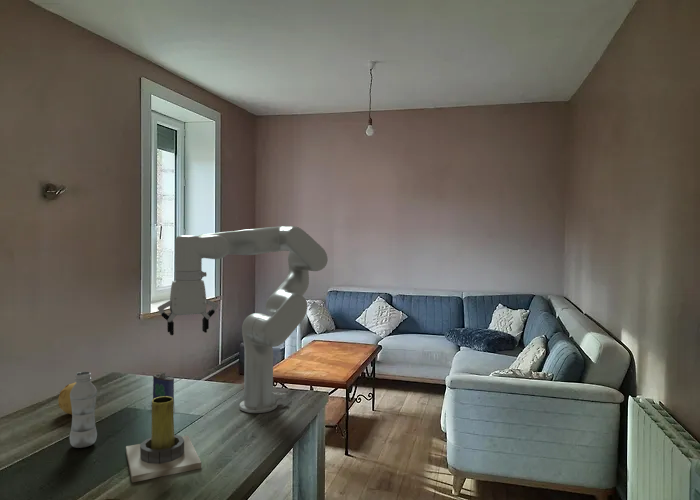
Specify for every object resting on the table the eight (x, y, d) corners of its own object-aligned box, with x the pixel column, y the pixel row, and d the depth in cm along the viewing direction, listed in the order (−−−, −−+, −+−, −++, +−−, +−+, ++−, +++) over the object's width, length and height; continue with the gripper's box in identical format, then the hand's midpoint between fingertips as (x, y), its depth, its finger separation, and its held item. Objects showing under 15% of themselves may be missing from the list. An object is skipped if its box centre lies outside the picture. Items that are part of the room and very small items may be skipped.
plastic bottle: (76, 440, 140) (75, 370, 139) (101, 440, 140) (100, 370, 139) (64, 451, 133) (64, 377, 132) (91, 450, 134) (90, 376, 133)
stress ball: (97, 413, 163) (89, 388, 168) (96, 397, 156) (88, 371, 162) (62, 425, 157) (55, 398, 162) (60, 408, 151) (53, 382, 156)
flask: (175, 403, 170) (175, 372, 169) (168, 406, 167) (168, 374, 167) (157, 399, 174) (156, 368, 174) (150, 401, 172) (149, 370, 171)
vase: (166, 460, 126) (166, 404, 125) (145, 457, 127) (144, 402, 126) (179, 449, 132) (179, 396, 131) (158, 447, 133) (158, 394, 132)
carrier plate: (188, 440, 141) (188, 425, 141) (201, 468, 125) (201, 450, 125) (126, 451, 133) (126, 435, 133) (131, 482, 118) (131, 463, 117)
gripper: (214, 274, 157) (214, 328, 158) (156, 276, 149) (156, 333, 150) (220, 276, 150) (220, 333, 151) (159, 278, 142) (159, 338, 143)
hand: (188, 333), depth 150 cm, fingers open, 9 cm apart
